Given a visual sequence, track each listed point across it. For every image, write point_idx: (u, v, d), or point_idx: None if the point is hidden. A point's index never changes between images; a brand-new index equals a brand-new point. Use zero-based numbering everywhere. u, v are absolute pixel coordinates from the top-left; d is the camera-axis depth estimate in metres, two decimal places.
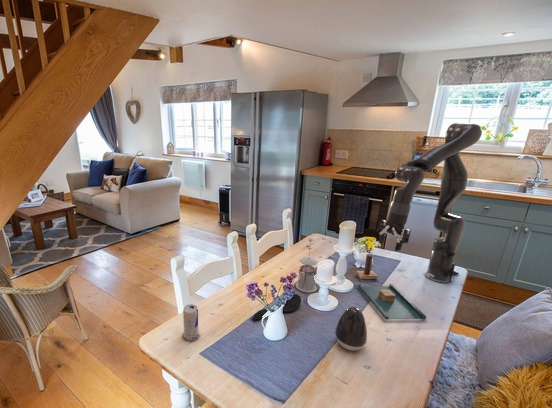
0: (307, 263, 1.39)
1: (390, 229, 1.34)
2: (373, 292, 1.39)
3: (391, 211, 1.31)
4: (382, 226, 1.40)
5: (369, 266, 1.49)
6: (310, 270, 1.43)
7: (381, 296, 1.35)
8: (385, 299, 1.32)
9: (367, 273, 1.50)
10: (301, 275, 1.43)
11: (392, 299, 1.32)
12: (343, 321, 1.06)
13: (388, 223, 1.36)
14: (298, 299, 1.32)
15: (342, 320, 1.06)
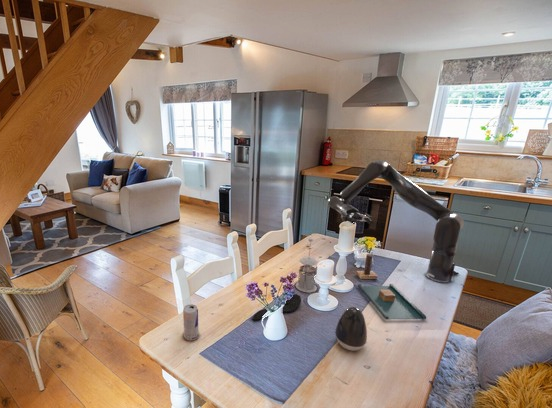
0: (307, 263, 1.39)
1: None
2: (373, 292, 1.39)
3: None
4: (366, 217, 1.63)
5: (369, 266, 1.49)
6: (310, 270, 1.43)
7: (381, 296, 1.35)
8: (385, 299, 1.32)
9: (367, 273, 1.50)
10: (301, 275, 1.43)
11: (392, 299, 1.32)
12: (343, 321, 1.06)
13: None
14: (298, 299, 1.32)
15: (342, 320, 1.06)
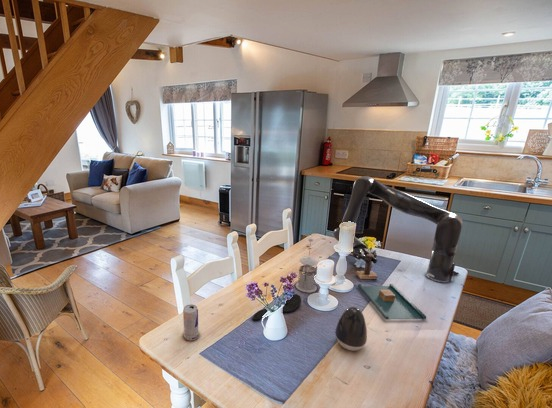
0: (307, 263, 1.39)
1: None
2: (373, 292, 1.39)
3: None
4: (373, 254, 1.54)
5: (369, 266, 1.49)
6: (310, 270, 1.43)
7: (381, 296, 1.35)
8: (385, 299, 1.32)
9: (367, 273, 1.50)
10: (301, 275, 1.43)
11: (392, 299, 1.32)
12: (343, 321, 1.06)
13: None
14: (298, 299, 1.32)
15: (342, 320, 1.06)
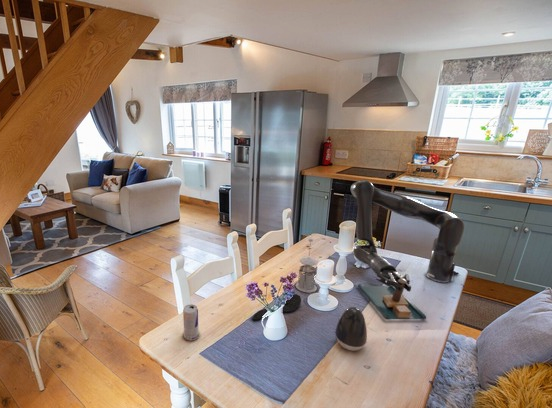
0: (307, 263, 1.39)
1: None
2: (373, 292, 1.39)
3: None
4: (405, 279, 1.28)
5: (400, 293, 1.24)
6: (310, 270, 1.43)
7: (395, 312, 1.24)
8: (400, 315, 1.22)
9: (396, 300, 1.26)
10: (301, 275, 1.43)
11: (407, 315, 1.22)
12: (343, 321, 1.06)
13: None
14: (298, 299, 1.32)
15: (342, 320, 1.06)
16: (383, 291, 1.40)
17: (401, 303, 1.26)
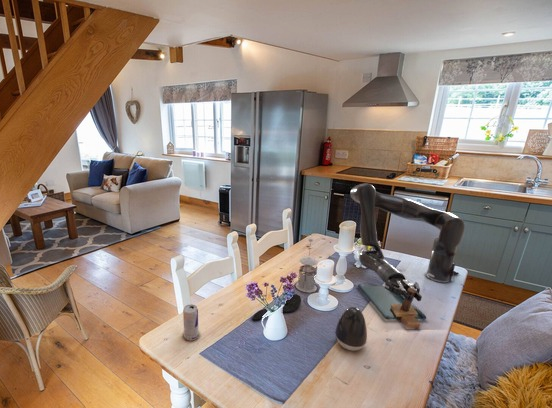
0: (307, 263, 1.39)
1: None
2: (373, 292, 1.39)
3: None
4: (414, 287, 1.22)
5: (409, 303, 1.18)
6: (310, 270, 1.43)
7: (403, 323, 1.19)
8: None
9: (405, 310, 1.20)
10: (301, 275, 1.43)
11: None
12: (343, 321, 1.06)
13: None
14: (298, 299, 1.32)
15: (342, 320, 1.06)
16: (383, 291, 1.40)
17: (410, 313, 1.20)
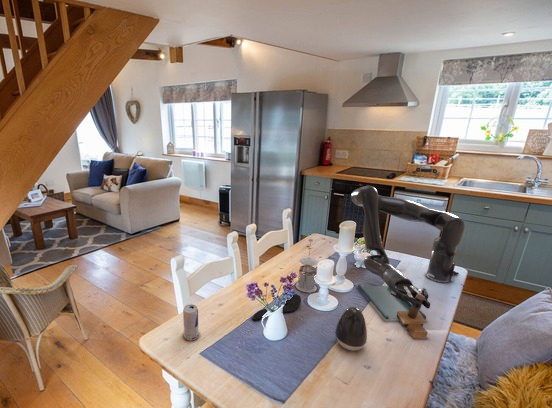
0: (307, 263, 1.39)
1: None
2: (373, 292, 1.39)
3: None
4: (422, 294, 1.18)
5: (417, 310, 1.14)
6: (310, 270, 1.43)
7: (410, 332, 1.15)
8: (415, 336, 1.12)
9: (413, 317, 1.16)
10: (301, 275, 1.42)
11: (423, 336, 1.12)
12: (343, 321, 1.06)
13: None
14: (298, 299, 1.32)
15: (342, 320, 1.06)
16: (383, 291, 1.40)
17: (418, 320, 1.16)
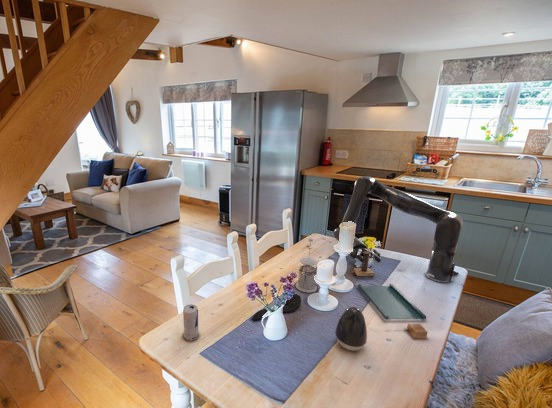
0: (307, 263, 1.39)
1: None
2: (373, 292, 1.39)
3: None
4: (375, 253, 1.55)
5: (366, 263, 1.52)
6: (310, 270, 1.43)
7: (410, 332, 1.15)
8: (415, 336, 1.12)
9: (364, 270, 1.53)
10: (301, 275, 1.43)
11: (424, 336, 1.12)
12: (343, 321, 1.06)
13: None
14: (298, 299, 1.32)
15: (342, 320, 1.06)
16: (383, 291, 1.40)
17: (368, 272, 1.53)
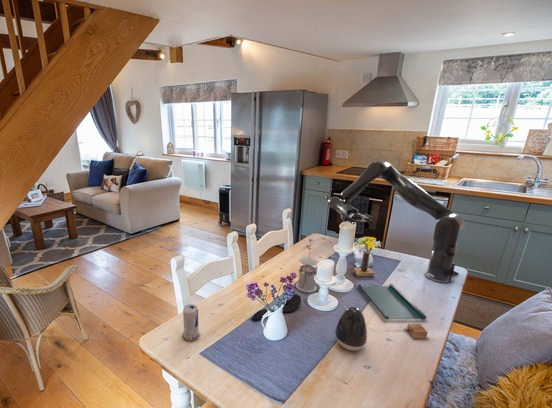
0: (307, 263, 1.39)
1: None
2: (373, 292, 1.39)
3: None
4: (366, 217, 1.63)
5: (366, 263, 1.52)
6: (310, 270, 1.43)
7: (410, 332, 1.15)
8: (415, 336, 1.12)
9: (364, 270, 1.53)
10: (301, 275, 1.43)
11: (424, 336, 1.12)
12: (343, 321, 1.06)
13: None
14: (298, 299, 1.32)
15: (342, 320, 1.06)
16: (383, 291, 1.40)
17: (368, 272, 1.53)
